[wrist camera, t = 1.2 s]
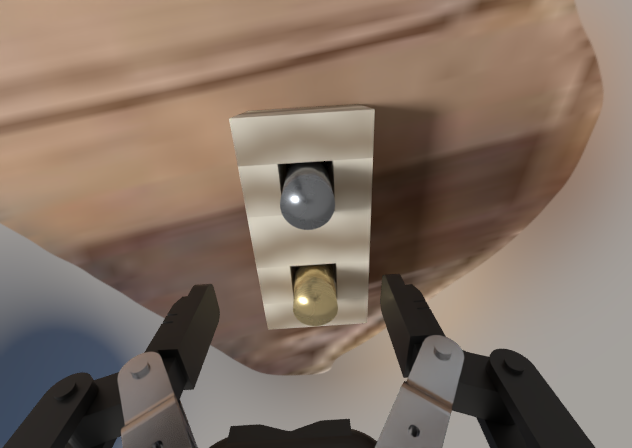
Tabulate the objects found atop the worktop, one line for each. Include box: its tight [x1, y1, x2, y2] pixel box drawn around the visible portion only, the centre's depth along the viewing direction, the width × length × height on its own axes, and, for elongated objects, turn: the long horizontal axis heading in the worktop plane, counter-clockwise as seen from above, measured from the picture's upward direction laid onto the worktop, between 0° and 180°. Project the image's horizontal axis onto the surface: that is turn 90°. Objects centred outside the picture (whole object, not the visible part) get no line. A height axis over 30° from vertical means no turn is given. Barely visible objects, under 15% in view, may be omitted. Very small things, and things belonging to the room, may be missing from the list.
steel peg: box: [280, 161, 335, 230], centre depth 25 cm, size 4×4×7 cm
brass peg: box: [293, 264, 338, 326], centre depth 30 cm, size 4×4×7 cm
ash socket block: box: [229, 104, 375, 329], centre depth 31 cm, size 24×12×8 cm, turn 3°
